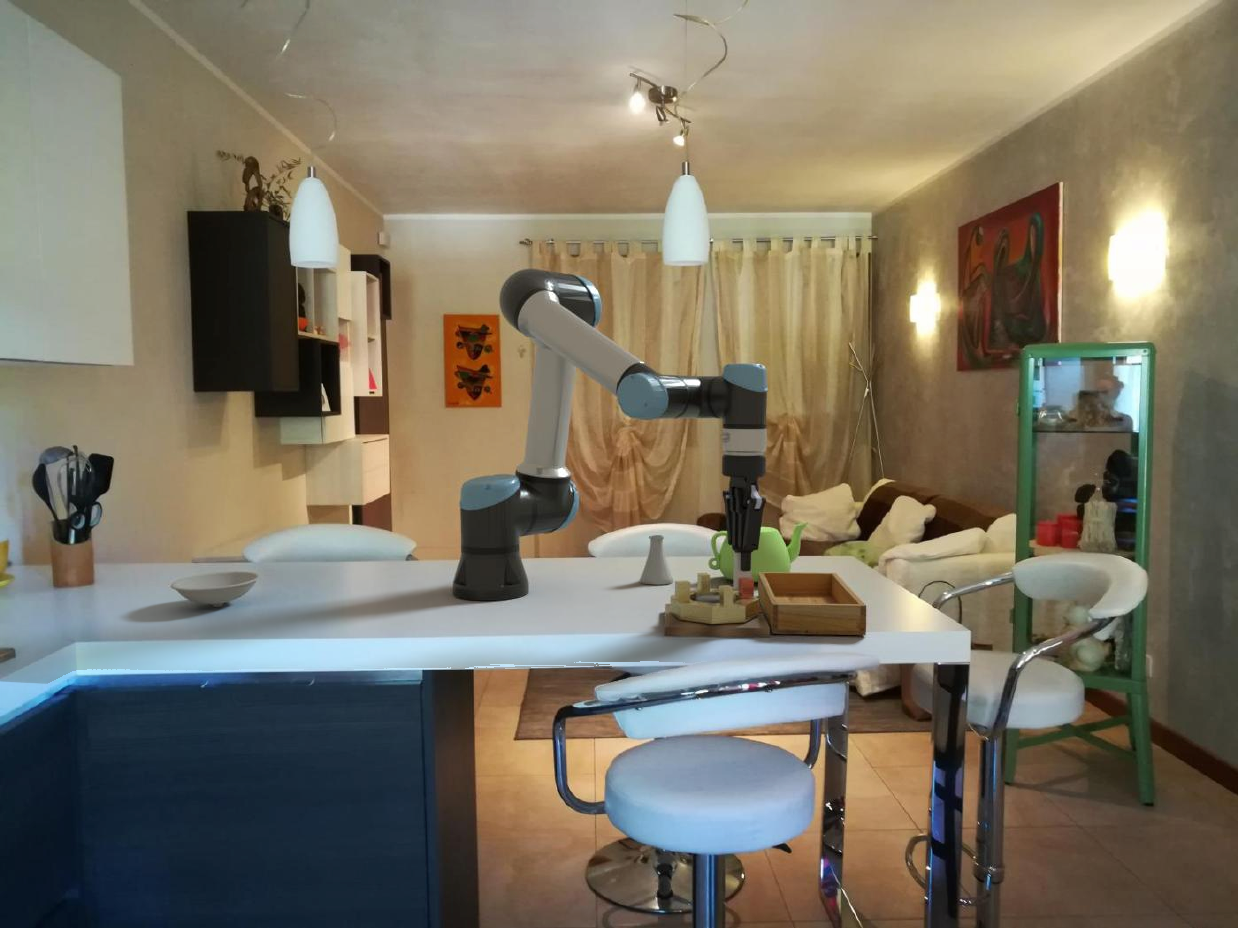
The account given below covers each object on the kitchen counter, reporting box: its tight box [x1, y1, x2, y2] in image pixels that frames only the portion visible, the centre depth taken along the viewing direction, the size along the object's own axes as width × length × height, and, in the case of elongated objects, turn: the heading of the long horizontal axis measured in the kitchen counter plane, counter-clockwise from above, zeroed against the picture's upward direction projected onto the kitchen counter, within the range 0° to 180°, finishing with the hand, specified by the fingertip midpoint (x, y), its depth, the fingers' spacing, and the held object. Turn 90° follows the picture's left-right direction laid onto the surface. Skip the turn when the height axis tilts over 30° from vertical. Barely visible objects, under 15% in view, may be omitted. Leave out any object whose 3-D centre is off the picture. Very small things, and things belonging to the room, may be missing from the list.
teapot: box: [708, 521, 811, 583], centre depth 190 cm, size 22×15×13 cm
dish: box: [170, 570, 262, 608], centre depth 167 cm, size 18×14×5 cm
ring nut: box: [670, 572, 760, 624], centre depth 152 cm, size 14×14×6 cm
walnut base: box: [664, 595, 771, 638], centre depth 153 cm, size 17×17×4 cm
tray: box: [757, 571, 867, 636], centre depth 159 cm, size 31×15×6 cm, turn 175°
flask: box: [639, 534, 674, 586], centre depth 189 cm, size 7×7×10 cm
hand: (742, 588), depth 155 cm, fingers closed
